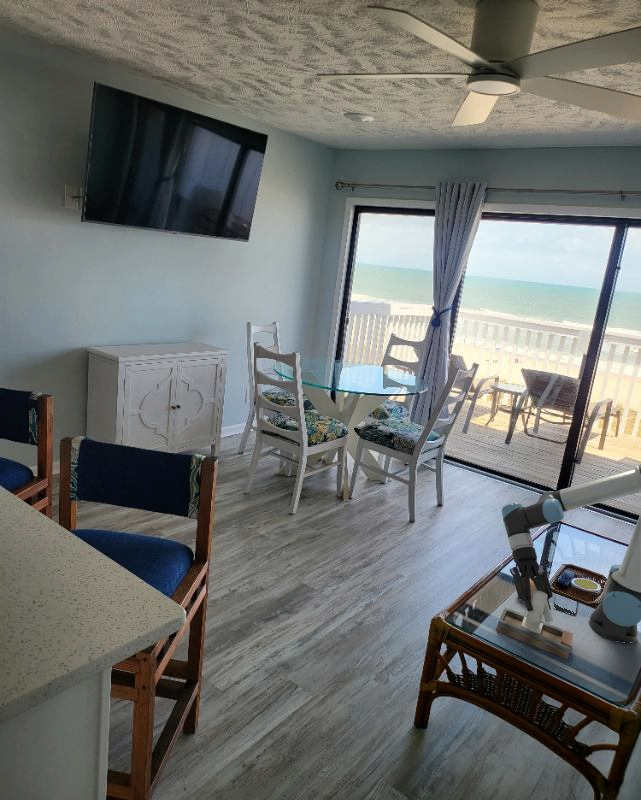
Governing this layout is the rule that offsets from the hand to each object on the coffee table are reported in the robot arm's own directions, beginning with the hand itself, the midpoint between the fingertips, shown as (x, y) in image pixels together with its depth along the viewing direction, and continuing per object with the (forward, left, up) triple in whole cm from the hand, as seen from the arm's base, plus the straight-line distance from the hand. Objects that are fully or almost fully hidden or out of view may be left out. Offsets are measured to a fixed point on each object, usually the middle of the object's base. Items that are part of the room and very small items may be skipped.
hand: (542, 621), depth 193 cm
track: (+1, -3, -7) cm, 8 cm away
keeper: (+3, -3, -5) cm, 6 cm away
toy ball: (+7, -29, -8) cm, 31 cm away
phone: (-6, -37, -8) cm, 38 cm away
